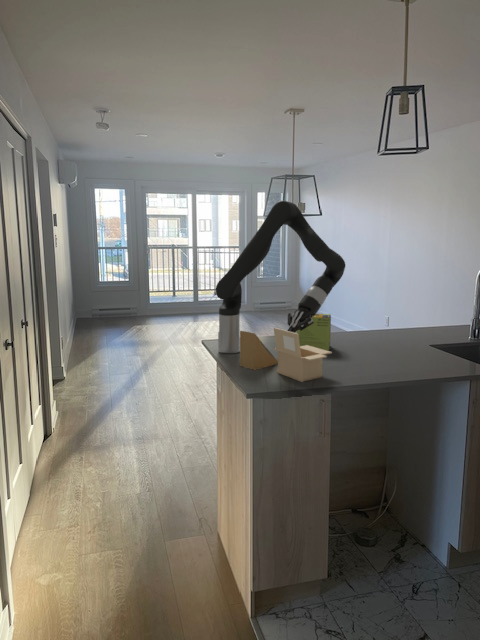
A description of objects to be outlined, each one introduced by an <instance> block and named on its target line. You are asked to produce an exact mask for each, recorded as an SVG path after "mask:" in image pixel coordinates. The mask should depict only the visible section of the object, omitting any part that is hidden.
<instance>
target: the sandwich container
mask: <svg viewBox="0 0 480 640" xmlns="http://www.w3.org/2000/svg"><path fill="white" fill-rule="evenodd" d="M270 351H271V350H269V349H268V348H267V347H266V345H265V344H264V343H263V342H262V341H261V339H260V338H259V337H258V336H257V334H256V333H255V332H250V331H246V330H240V351H239V357H240V358H239V361H240V362H239V363H240V365H239V366H240V367H241V366H243V367H242V368H245V367H247V368H246V369H248V368H250V369H249V370H252V369H254V370H253V371H257V370H260V369H259V368H261V369H264V368H263V367H265V368H268V367H270V366H271V367H272V366H274V364H275V365H278V364H277V363H278V359H277V358H276V357H275V356H274V355H273V353H271V352H270ZM267 366H268V367H267ZM256 369H257V370H256Z"/></svg>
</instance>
